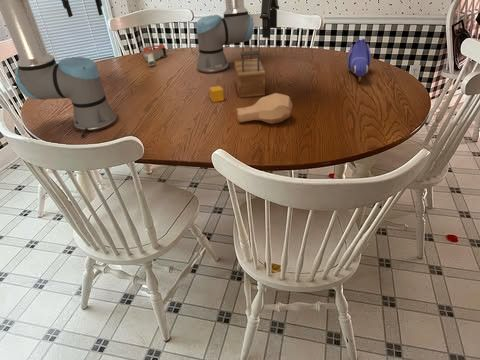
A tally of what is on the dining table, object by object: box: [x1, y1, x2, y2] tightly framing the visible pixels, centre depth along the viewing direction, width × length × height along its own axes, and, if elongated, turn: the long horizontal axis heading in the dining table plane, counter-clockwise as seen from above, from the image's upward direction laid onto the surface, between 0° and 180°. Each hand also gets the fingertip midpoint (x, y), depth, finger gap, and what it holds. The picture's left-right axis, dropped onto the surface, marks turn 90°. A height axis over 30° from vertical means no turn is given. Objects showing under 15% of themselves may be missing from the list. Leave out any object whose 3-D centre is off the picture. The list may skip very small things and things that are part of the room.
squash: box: [236, 92, 293, 125], centre depth 125 cm, size 11×20×9 cm, turn 92°
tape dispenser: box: [140, 44, 167, 67], centre depth 190 cm, size 18×5×20 cm
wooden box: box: [233, 62, 266, 99], centre depth 149 cm, size 17×11×9 cm, turn 6°
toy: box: [346, 38, 372, 83], centre depth 153 cm, size 10×17×25 cm
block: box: [208, 85, 225, 103], centre depth 144 cm, size 4×4×4 cm
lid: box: [233, 49, 266, 76], centre depth 144 cm, size 17×11×9 cm, turn 6°
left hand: (85, 15), depth 157 cm, fingers open, 13 cm apart
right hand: (269, 32), depth 133 cm, fingers open, 13 cm apart
